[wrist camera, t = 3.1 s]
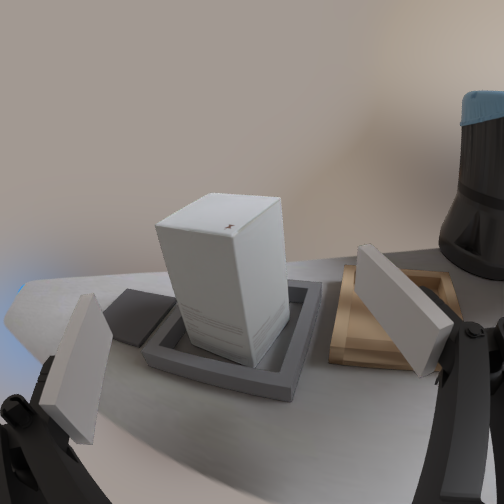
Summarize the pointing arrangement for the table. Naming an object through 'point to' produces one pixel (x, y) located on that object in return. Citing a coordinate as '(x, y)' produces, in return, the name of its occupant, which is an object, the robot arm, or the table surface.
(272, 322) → the supplement box
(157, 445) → the table surface
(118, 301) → the pad
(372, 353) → the wooden square tray
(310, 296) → the tray
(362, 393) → the table surface
